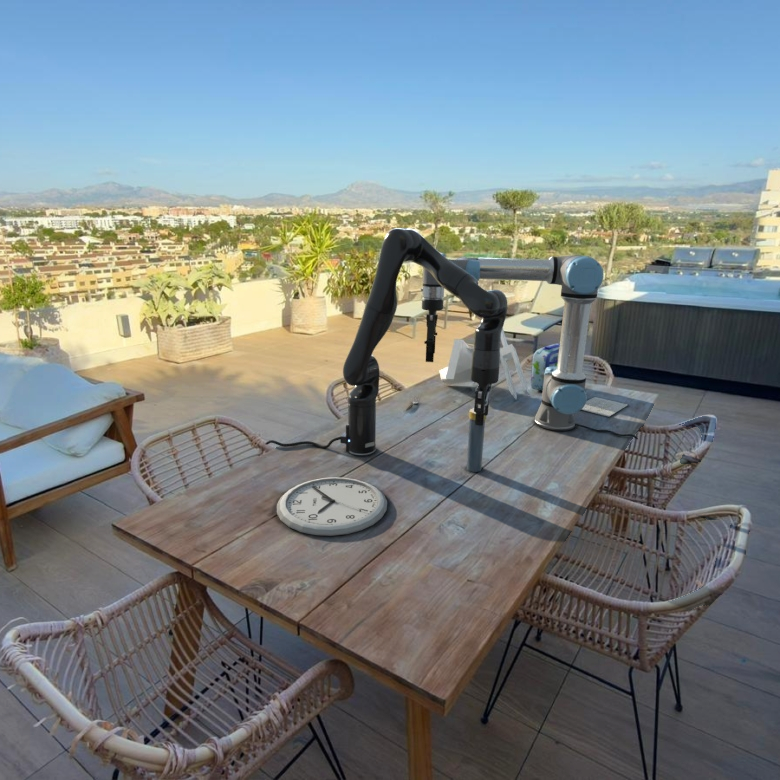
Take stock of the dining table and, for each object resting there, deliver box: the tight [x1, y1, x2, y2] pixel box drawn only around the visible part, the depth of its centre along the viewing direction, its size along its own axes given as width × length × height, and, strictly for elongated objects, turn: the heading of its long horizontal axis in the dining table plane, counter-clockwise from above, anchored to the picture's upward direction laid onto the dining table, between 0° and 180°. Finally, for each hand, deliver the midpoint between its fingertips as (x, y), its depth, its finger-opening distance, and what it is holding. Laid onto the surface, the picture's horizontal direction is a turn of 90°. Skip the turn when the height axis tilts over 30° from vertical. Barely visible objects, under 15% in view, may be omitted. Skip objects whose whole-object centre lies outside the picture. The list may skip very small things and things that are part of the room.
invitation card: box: [580, 396, 629, 418], centre depth 226 cm, size 21×1×15 cm
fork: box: [405, 396, 421, 411], centre depth 222 cm, size 3×16×2 cm, turn 160°
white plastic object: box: [438, 327, 531, 400], centre depth 245 cm, size 37×45×31 cm
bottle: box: [466, 418, 486, 473], centre depth 163 cm, size 5×5×19 cm
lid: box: [468, 407, 487, 421], centre depth 160 cm, size 5×5×2 cm
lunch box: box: [530, 343, 560, 391], centre depth 249 cm, size 26×11×21 cm, turn 134°
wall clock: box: [276, 476, 388, 537], centre depth 142 cm, size 30×2×30 cm
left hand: (481, 419), depth 148 cm, fingers open, 8 cm apart
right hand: (430, 357), depth 190 cm, fingers open, 13 cm apart
